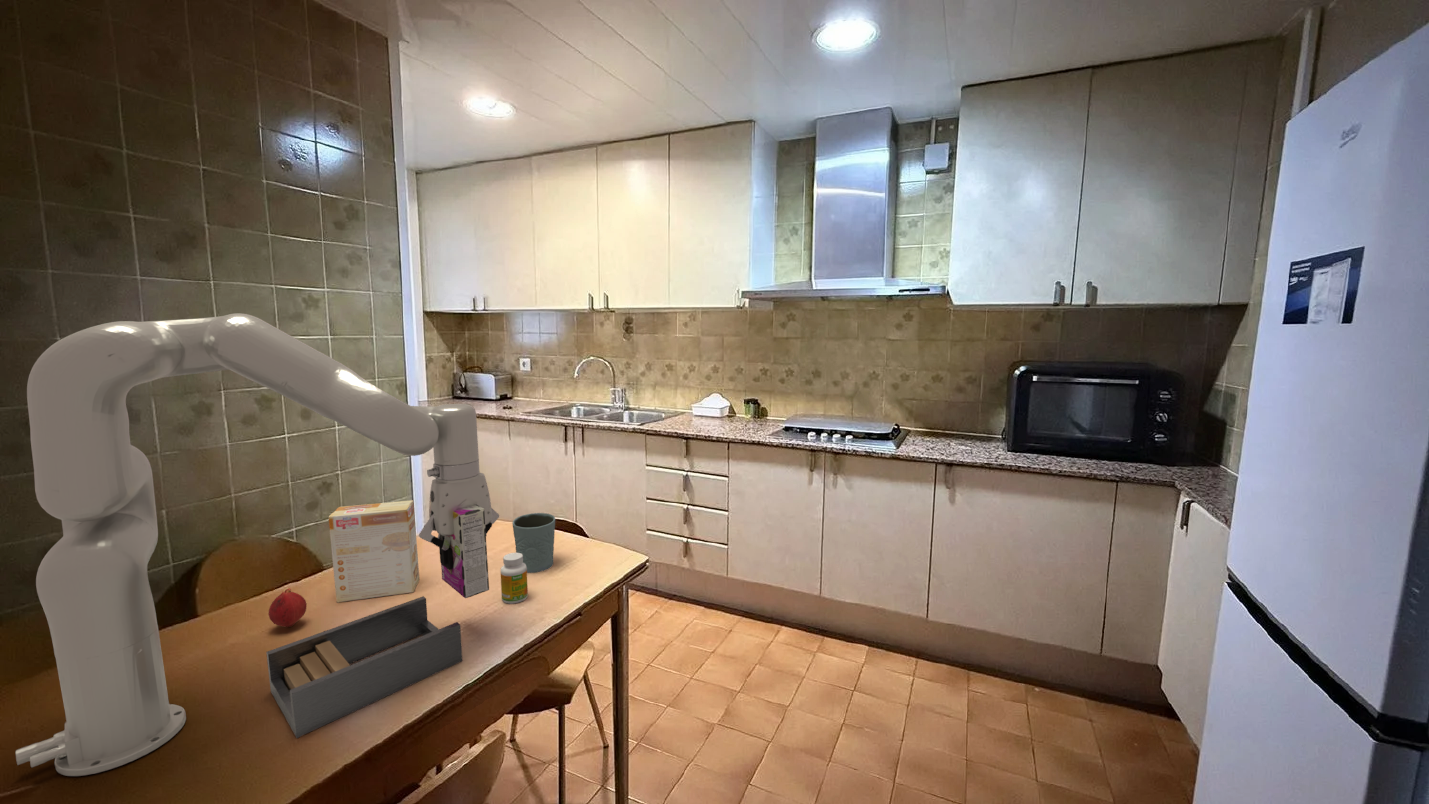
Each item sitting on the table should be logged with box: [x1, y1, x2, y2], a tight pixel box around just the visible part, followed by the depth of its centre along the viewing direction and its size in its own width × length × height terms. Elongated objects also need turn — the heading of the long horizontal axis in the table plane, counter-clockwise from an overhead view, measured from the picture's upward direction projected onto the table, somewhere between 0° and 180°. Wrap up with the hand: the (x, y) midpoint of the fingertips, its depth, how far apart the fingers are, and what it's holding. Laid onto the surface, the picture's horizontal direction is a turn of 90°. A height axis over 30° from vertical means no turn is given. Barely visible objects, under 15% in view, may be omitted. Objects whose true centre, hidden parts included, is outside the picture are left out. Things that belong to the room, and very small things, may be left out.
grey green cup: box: [511, 512, 556, 574], centre depth 134 cm, size 10×10×12 cm
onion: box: [268, 587, 308, 628], centre depth 106 cm, size 6×6×8 cm
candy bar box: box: [440, 505, 490, 599], centre depth 103 cm, size 11×5×16 cm, turn 47°
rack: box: [266, 595, 463, 739], centre depth 91 cm, size 24×15×7 cm, turn 140°
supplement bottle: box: [500, 552, 529, 605], centre depth 118 cm, size 5×5×10 cm
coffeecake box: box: [327, 500, 420, 603], centre depth 120 cm, size 15×7×20 cm, turn 108°
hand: (463, 561), depth 104 cm, fingers closed on candy bar box, 5 cm apart
